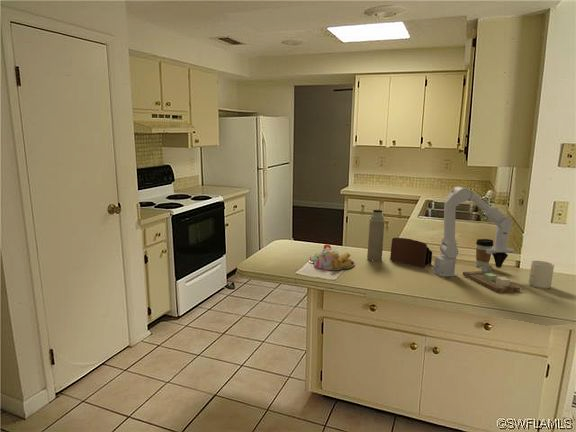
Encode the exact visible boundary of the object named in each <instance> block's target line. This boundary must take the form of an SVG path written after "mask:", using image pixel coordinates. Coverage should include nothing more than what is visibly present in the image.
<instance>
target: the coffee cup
mask: <svg viewBox="0 0 576 432" xmlns="http://www.w3.org/2000/svg"><path fill="white" fill-rule="evenodd" d="M475 244H476V247H475V259H476V260H475V267H476V266H478V267H477V268H479V267H482V264H489V265H490V261H491V255H492V253H490V254H488V253H486V249H492V248H493V247H494V245H495V243H494V240H493V239H489V238H482V239H481V238H480V239H479V238H478V239H476V242H475Z"/></svg>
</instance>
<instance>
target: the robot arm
mask: <svg viewBox="0 0 576 432" xmlns="http://www.w3.org/2000/svg"><path fill="white" fill-rule="evenodd" d="M464 202H472V204H475V205H476V206H477V207H478V208H480V209H481V210H482V211H483V213H484V216H486V218H488V219H489V220H491V221H492V222H493V223H494V224H495V226H496V229H495V230H496V231H495V238H494V245H493V247H492V249H486V253H488V254H490V253H491V255H492V256H493V259H494V265H495V267H496V268H497V269H502V266H503V265H504V262H505V260H506V259H507V258H508V257H509V254H515V249H514V248H509V247H508V245H509V237H510V230H511V228H512V227H513V226H514V223H513V221H512V219H511V218H510V217H507V216H506V213H504V212H502V211H501V210H499V207H498V206H496V205H495V206H494V205H489V204H488V203H487V202H485V201H484V200H483V198H481V197H480V196H478V195H477V194H476V193H475V192H474V191H472V190H470V189H469V188H467V187H462V186H460V185H459V186H455V187H454V188H452V189H451V190H450V191H449V194H448V195H447V198H446V199H445V201H444V204H443V207H444V208H443V209H444V211H443V238H442V240H441V244H440V247H439V250H440V252H441V254H440V256H438V257H436V258H435V259H434V261H433V262H434V264H433V270H432V273H434V274H436V275H437V276H439V277H444V278H445V277H458V276H459V274H456V272H455V270H456V261H457V260H456V259H457V257H458V255H459V249H458V247H457V242H456V241H457V240H456V210H457V209H456V208H457V207H458V206H459V205H461V204H462V203H464Z"/></svg>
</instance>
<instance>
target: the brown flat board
mask: <svg viewBox="0 0 576 432" xmlns="http://www.w3.org/2000/svg"><path fill="white" fill-rule="evenodd" d="M484 274H485V273H483V272H481V270H478V271H477V270H476V271H473V270H472V271H471V270H470V271H463V272H462V276H463V275H464V276H466V277H468V278H470V279H471V281H472V280H473V282H474V281H475V283H476V282H477V283H476V284H479V285H480V284H481V285H480V286H482V287H484V288H486V289H488V290H490V291H492V292H494V293H496V294H497V293H498V294H499V293H520V292H521V287H520V286H518V285H516V284H513V283H512V282H510V286H509V287H501V286H499V285H497V284H495V283H496V281H488V280H486V279H484ZM464 276H463V277H464ZM466 277H465V278H466ZM468 278H467V279H468ZM470 279H469V280H470Z"/></svg>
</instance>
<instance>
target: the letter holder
mask: <svg viewBox="0 0 576 432" xmlns="http://www.w3.org/2000/svg"><path fill="white" fill-rule="evenodd" d="M389 256H390V257H389V261H390V260H392V261H391V262H394V261H396V262H395V263H399V262H400V263H399V264H403V263H404V264H403V265H408V264H409V265H408V266H412V265H413V267H417V266H418V268H421V267H422V269H425V267H426V268H427V267H429V266H431V265H432V262H433V259H432V258H433V251H432V250H431V249H430V248H429V247H428V244H427V243H426V242H423V241H419V240H415V239H412V238H405V237H392V238H391V246H390V255H389ZM430 264H431V265H430ZM428 265H429V266H428Z"/></svg>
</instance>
